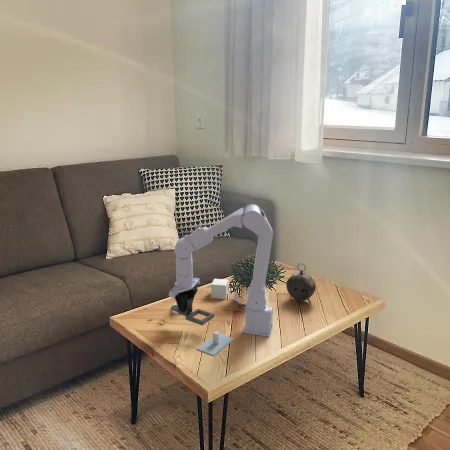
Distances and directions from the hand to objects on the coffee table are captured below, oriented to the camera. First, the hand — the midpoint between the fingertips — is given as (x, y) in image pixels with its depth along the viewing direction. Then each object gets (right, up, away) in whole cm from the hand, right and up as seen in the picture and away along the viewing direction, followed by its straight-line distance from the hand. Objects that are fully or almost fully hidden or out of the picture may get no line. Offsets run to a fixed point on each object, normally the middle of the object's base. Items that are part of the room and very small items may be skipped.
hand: (185, 309), depth 162 cm
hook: (-3, -3, +15) cm, 16 cm away
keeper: (+11, -10, -9) cm, 17 cm away
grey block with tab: (+2, -2, -1) cm, 3 cm away
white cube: (+12, 0, +28) cm, 30 cm away
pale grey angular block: (+22, -1, +23) cm, 32 cm away
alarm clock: (+43, -1, +22) cm, 49 cm away
